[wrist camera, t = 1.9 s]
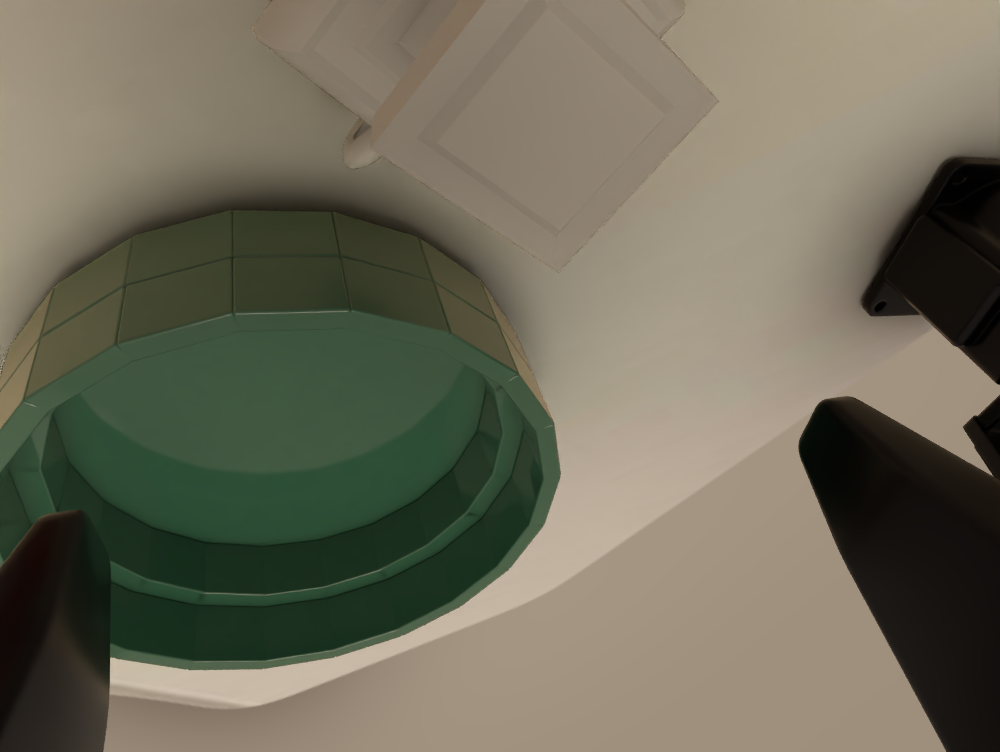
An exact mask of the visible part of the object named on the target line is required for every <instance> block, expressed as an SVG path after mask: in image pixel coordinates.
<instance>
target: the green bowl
mask: <svg viewBox="0 0 1000 752" xmlns="http://www.w3.org/2000/svg"><path fill="white" fill-rule="evenodd" d="M560 475H561V471H560V463H559V456H558V448H557V440H556V433H555V425H554V422H553V419H552V417H551V415H550V412H549V410H548V408H547V405H546V403H545V401H544V398H543V396H542V394H541V391H540V389H539V387H538V384H537V382H536V380H535V377H534V375H533V373H532V371H531V368H530V366H529V364H528V361H527V359H526V357H525V354H524V352H523V350H522V347H521V345H520V343H519V340H518V338H517V336H516V333H515V331H514V329H513V327H512V326H511V324H510V323H509V322H508V320H507V319H506V317H505V316H504V314H503V313H502V311H501V310H500V308H499V307H498V305H497V304H496V302H495V301H494V299H493V298H492V296H491V295H490V293H489V292H488V290H487V289H486V287H485V286H484V284H483V283H482V282H481V281H480V279H479V278H477V277H476V276H474V275H473V274H471V273H470V272H469V271H467V270H466V269H464V268H463V267H461V266H460V265H458V264H457V263H456V262H454V261H453V260H451V259H450V258H448V257H447V256H445V255H444V254H442V253H441V252H440V251H438V250H437V249H435V248H434V247H432V246H431V245H429V244H428V243H426V242H425V241H424V240H422V239H421V238H418V237H416V236H413V235H410V234H406V233H403V232H400V231H396V230H393V229H389V228H386V227H383V226H379V225H376V224H373V223H369V222H366V221H363V220H359V219H356V218H353V217H349V216H346V215H343V214H339V213H336V212H333V213H331V212H318V211H250V210H234V211H233V212H232V211H231V210H228V211H224V212H221V213H217V214H213V215H209V216H205V217H202V218H198V219H194V220H190V221H186V222H182V223H179V224H175V225H171V226H167V227H163V228H160V229H156V230H152V231H148V232H144V233H140V234H137V235H134V236H133V237H131V238H129V239H128V240H126V241H124V242H123V243H121V244H120V245H118V246H116V247H115V248H113V249H112V250H110V251H108V252H107V253H105V254H104V255H102V256H101V257H99V258H97V259H96V260H94V261H93V262H91V263H89V264H88V265H86V266H85V267H83V268H81V269H80V270H78V271H77V272H75V273H74V274H72V275H70V276H69V277H67V278H66V279H64V280H62V281H61V282H59V283H58V284H56V286H55V287H54V288H52V289H51V291H50V292H49V294H48V295H47V296H46V298H45V299H44V300H43V302H42V303H41V305H40V306H39V307H38V309H37V310H36V312H35V313H34V314H33V316H32V317H31V318H30V320H29V321H28V323H27V324H26V325H25V327H24V328H23V330H22V331H21V332H20V334H19V335H18V337H17V338H16V339H15V341H14V342H13V343H12V345H11V346H10V348H9V350H8V353H7V356H6V359H5V362H4V365H3V369H2V372H1V375H0V567H1V565H2V564H3V563H4V561H5V560H6V559H7V558H8V556H9V555H10V554H11V552H12V551H13V550H14V549H15V547H16V546H17V545H18V543H19V542H20V541H21V540H22V538H23V537H24V536H25V534H26V533H27V532H28V531H29V529H30V528H31V527H32V525H33V524H34V523H35V522H36V521H37V520H38V519H39V518H40V517H42V516H43V515H45V514H49V513H55V512H62V511H68V510H75V509H82V510H84V511H86V512H87V513H88V514H89V516H90V517H91V519H92V521H93V523H94V525H95V527H96V529H97V531H98V533H99V535H100V537H101V539H102V541H103V543H104V545H105V547H106V549H107V552H108V555H109V559H110V565H111V618H110V657H112V658H114V657H115V658H116V659H122V660H128V661H135V662H141V663H147V664H154V665H160V666H167V667H173V668H179V669H188V670H236V669H263V668H264V669H266V668H273V667H279V666H285V665H291V664H297V663H303V662H309V661H316V660H322V659H328V658H334V657H335V656H336V657H338V656H341V655H344V654H347V653H350V652H353V651H356V650H360V649H363V648H366V647H369V646H372V645H375V644H378V643H382V642H385V641H388V640H391V639H394V638H397V637H400V636H401V635H405V634H407V633H409V632H411V631H413V630H415V629H417V628H419V627H421V626H423V625H425V624H427V623H429V622H431V621H433V620H435V619H437V618H439V617H441V616H443V615H445V614H447V613H449V612H451V611H453V610H455V609H457V608H459V607H460V606H462V605H463V604H465V603H466V602H467V601H469V600H470V599H471V598H473V597H474V596H475V595H476V594H478V593H479V592H480V591H482V590H483V589H484V588H486V587H487V586H488V585H489V584H491V583H492V582H493V581H495V580H496V579H497V578H499V577H500V576H501V575H502V574H504V573H505V572H506V571H508V570H509V568H511V567H512V565H513V564H514V563H515V561H516V560H517V559H518V558H519V556H520V555H521V554H522V553H523V551H524V550H525V549H526V547H527V546H528V545H529V544H530V542H531V541H532V540H533V539H534V537H535V536H536V535H537V533H538V532H539V531H540V530H541V528H542V527H543V525H544V524H545V521H546V518H547V515H548V512H549V509H550V506H551V503H552V500H553V497H554V494H555V492H556V489H557V486H558V483H559V480H560Z"/></svg>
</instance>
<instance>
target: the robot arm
mask: <svg viewBox="0 0 1000 752" xmlns="http://www.w3.org/2000/svg"><path fill="white" fill-rule="evenodd" d="M862 308H863V309H864V310H865V311H866V312H867V313H868V314H869V315H870V316H903V315H922V316H923V317H924V318H925V319H926V320H927V321H928V322H929V323H930V324H931V325H932V326H933V327H934V328H936V329H937V330H938V331H939V332H940V333H941V334H942V335H943V336H944V337H945V338H946V339H947V340H948V341H950V343H951V344H952V345H954V346H956V347H958V348H959V349H960V350H962V351H963V352H964V353H965V354H966V355H967V356H968V357H969V358H970V359H971V360H972V361H973V362H974V363H975V364H976V365H977V366H978V367H980V368H981V369H982V370H983V371H984V372H985V373H986V374H987V375H988V376H989V377H990V378H991V379H992V380H993V381H994V382H995V383H997V384H999V385H1000V160H995V159H975V158H957V159H955V160H953V161H951V162H950V163H948V164H947V165H946V166H945V167H944V169H943V170H942V171H941V173H940V175H939V176H938V178H937V180H936V181H935V183H934V185H933V186H932V188H931V190H930V191H929V193H928V195H927V196H926V198H925V200H924V201H923V203H922V205H921V206H920V208H919V210H918V211H917V213H916V215H915V216H914V218H913V220H912V221H911V223H910V225H909V226H908V228H907V229H906V231H905V233H904V234H903V236H902V238H901V239H900V241H899V243H898V244H897V246H896V248H895V249H894V251H893V253H892V254H891V256H890V258H889V259H888V261H887V263H886V264H885V266H884V268H883V269H882V271H881V273H880V274H879V276H878V278H877V279H876V281H875V283H874V284H873V286H872V288H871V289H870V291H869V293H868V294H867V296H866V298H865V299H864V301H863V304H862ZM963 428H964V430H965V432H966V433H967V435H968V436H969V438H970V439H971V441H972V442H973V444H974V445H975V449H976V451H977V452H978V454H979V455H980V456H981V458H982V460H983V461H984V463H985V464H986V465H987V467H988V469H989V470H990V471H991V473H992V475H993V476H994V477H993V476H991V475H989V474H988V473H986V472H984V471H982V470H981V469H979V468H977V467H975V466H974V465H972V464H970V463H968V462H966V461H965V460H963V459H961V458H960V457H958V456H956V455H954V454H953V453H951V452H949V451H947V450H946V449H944V448H942V447H940V446H939V445H937V444H935V443H933V442H932V441H930V440H928V439H926V438H925V437H923V436H921V435H919V434H918V433H916V432H914V431H912V430H911V429H909V428H907V427H905V426H904V425H901V424H900V423H898V422H897V421H895V420H893V419H891V418H890V417H888V416H886V415H884V414H883V413H881V412H879V411H877V410H876V409H874V408H872V407H870V406H869V405H867V404H865V403H863V402H862V401H860V400H858V399H856V398H853V397H849V396H845V397H837V398H830V399H825V400H822V401H821V402H820V403H819V404H818V405H817V406H816V408H815V410H814V412H813V414H812V416H811V418H810V420H809V422H808V424H807V426H806V428H805V429H804V431H803V433H802V435H801V437H800V440H799V454H800V458H801V461H802V463H803V465H804V468H805V470H806V473H807V475H808V478H809V480H810V483H811V485H812V487H813V490H814V492H815V495H816V497H817V499H818V502H819V504H820V507H821V509H822V512H823V514H824V516H825V518H826V521H827V524H828V526H829V528H830V531H831V533H832V536H833V538H834V540H835V543H836V545H837V547H838V549H839V552H840V554H841V556H842V558H843V560H844V562H845V564H846V566H847V568H848V570H849V572H850V574H851V575H852V577H853V579H854V581H855V583H856V584H857V587H858V588H859V590H860V592H861V594H862V596H863V597H864V599H865V601H866V603H867V605H868V607H869V609H870V611H871V613H872V614H873V616H874V618H875V620H876V621H877V624H878V625H879V627H880V629H881V631H882V633H883V635H884V637H885V638H886V640H887V642H888V644H889V646H890V648H891V650H892V652H893V653H894V655H895V657H896V659H897V661H898V662H899V664H900V666H901V668H902V670H903V671H904V674H905V676H906V677H907V679H908V681H909V683H910V685H911V687H912V689H913V690H914V692H915V694H916V696H917V698H918V700H919V702H920V703H921V705H922V707H923V709H924V711H925V713H926V714H927V716H928V718H929V720H930V722H931V724H932V725H933V727H934V729H935V731H936V733H937V735H938V737H939V739H940V740H941V742H942V744H943V746H944V748H945V750H946V752H1000V395H999V396H998V397H997V398H996V399H995V400H994V401H993V402H992V403H991V404H990V405H989V406H988V407H987V408H986V409H985V410H983V411H982V412H981V413H980V414H979V415H978V416H973V417H972V418H971V419H970V420H969V421H968V422H967V423H966V424H965V425H964V426H963ZM110 618H111V565H110V559H109V555H108V552H107V549H106V547H105V545H104V543H103V541H102V539H101V537H100V535H99V533H98V531H97V529H96V527H95V525H94V523H93V521H92V519H91V517H90V516H89V514H88V513H87V512H86V511H84V510H82V509H75V510H68V511H62V512H55V513H49V514H45V515H43V516H42V517H40V518H39V519H38V520H37V521H36V522H35V523H34V524H33V525H32V527H31V528H30V529H29V531H28V532H27V533H26V534H25V536H24V537H23V538H22V540H21V541H20V542H19V543H18V545H17V546H16V547H15V549H14V550H13V551H12V552H11V554H10V555H9V556H8V558H7V559H6V560H5V561H4V563H3V564H2V565H1V567H0V752H103V749H104V742H105V735H106V728H107V718H108V709H109V688H110Z"/></svg>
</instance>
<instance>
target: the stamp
mask: <svg viewBox="0 0 1000 752" xmlns="http://www.w3.org/2000/svg"><path fill="white" fill-rule="evenodd" d="M684 10H685V3H684V2H683V1H682V0H272V1H271V3H270V4H269V5H268V7H267V8H266V10H265V11H264V12H263V14H262V15H261V17H260V18H259V19H258V21H257V22H256V24H255V25H254V26H253V28H252V29H251V30H252V31H253V32H254V34H255V36H256V38H257V39H258V40H259V41H260V42H262V43H263V44H264V45H265V46H267V47H268V48H269V49H271V50H272V51H273V52H275V53H276V54H277V55H279V56H280V57H281V58H282V59H284V60H285V61H286V62H288V63H289V64H290V65H292V66H293V67H294V68H296V69H297V70H298V71H300V72H301V73H302V74H303V75H305V76H306V77H307V78H309V79H310V80H311V81H313V82H314V83H315V84H317V85H318V86H319V87H320V88H322V89H323V90H324V91H326V92H327V93H328V94H330V95H331V96H332V97H334V98H335V99H336V100H338V101H339V102H340V103H341V104H343V105H344V106H345V107H347V108H348V109H349V110H351V111H352V112H353V113H355V114H356V115H357V116H358V117H360V119H359V121H358V122H357V123H356V124H355V126H354V127H353V128H352V130H351V131H350V133H349V135H348V137H347V138H346V140H345V142H344V144H343V159H344V163H345V165H346V166H347V167H348V168H350V169H358V168H361V167H364V166H366V165H369V164H372V163H374V162H375V161H376V160H378V159H379V158H380V156H382V157H384V158H385V159H387V160H388V161H390V162H391V163H393V164H394V165H396V166H397V167H399V168H400V169H402V170H403V171H405V172H406V173H408V174H410V175H411V176H413V177H414V178H416V179H417V180H419V181H420V182H422V183H423V184H425V185H426V186H428V187H429V188H431V189H432V190H434V191H435V192H437V193H438V194H440V195H441V196H443V197H444V198H446V199H447V200H449V201H451V202H452V203H454V204H455V205H457V206H458V207H460V208H461V209H463V210H464V211H466V212H467V213H469V214H470V215H472V216H473V217H475V218H476V219H478V220H479V221H481V222H482V223H484V224H485V225H487V226H488V227H490V228H491V229H493V230H495V231H496V232H498V233H499V234H501V235H502V236H504V237H505V238H507V239H508V240H510V241H511V242H513V243H514V244H516V245H517V246H519V247H520V248H522V249H523V250H525V251H526V252H528V253H529V254H531V255H532V256H534V257H536V258H537V259H539V260H540V261H542V262H543V263H545V264H546V265H548V266H549V267H551V268H552V269H554V270H555V271H557V272H558V273H559V272H560V271H561V269H562V268H563V267H564V266H565V265H566V264H567V263H568V262H569V261H570V260H571V259H572V258H573V257H574V256H575V254H576V253H577V252H578V251H579V250H580V249H581V248H582V247H583V246H584V245H585V244H586V243H587V242H588V241H589V240H590V238H591V237H592V236H593V235H594V234H595V233H596V232H597V231H598V230H599V229H600V228H601V227H602V226H603V225H604V223H605V222H606V221H607V220H608V219H609V218H610V217H611V216H612V215H613V214H614V213H615V212H616V211H617V210H618V209H619V207H620V206H621V205H622V204H623V203H624V202H625V201H626V200H627V199H628V198H629V197H630V196H631V195H632V194H633V192H634V191H635V190H636V189H637V188H638V187H639V186H640V185H641V184H642V183H643V182H644V181H645V180H646V179H647V178H648V176H649V175H650V174H651V173H652V172H653V171H654V170H655V169H656V168H657V167H658V166H659V165H660V164H661V163H662V162H663V160H664V159H665V158H666V157H667V156H668V155H669V154H670V153H671V152H672V151H673V150H674V149H675V148H676V147H677V145H678V144H679V143H680V142H681V141H682V140H683V139H684V138H685V137H686V136H687V135H688V134H689V133H690V132H691V131H692V129H693V128H694V127H695V126H696V125H697V124H698V123H699V122H700V121H701V120H702V119H703V118H704V117H705V116H706V114H707V113H708V112H709V111H710V110H711V109H712V108H713V107H714V106H715V105H716V104H717V103H718V102H719V101H718V100H717V99H716V97H715V96H714V95H713V94H712V93H711V92H710V91H709V90H708V89H707V88H706V87H705V86H704V85H703V84H702V82H701V81H700V80H699V79H698V78H697V77H696V76H695V75H694V74H693V73H692V72H691V71H690V70H689V68H688V67H687V66H686V65H685V64H684V63H683V62H682V61H681V60H680V59H679V58H678V57H677V56H676V55H675V53H674V52H673V51H672V50H671V49H670V48H669V47H668V46H667V45H666V44H665V43H664V42H663V41H662V40H661V37H662V36H663V35H664V34H665V33H666V32H667V31H668V30H669V29H670V28H671V26H672V25H673V24H674V23H675V22H676V21H677V20H678V19H679V18H680V17H681V16H682V15H683V14H684Z"/></svg>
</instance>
